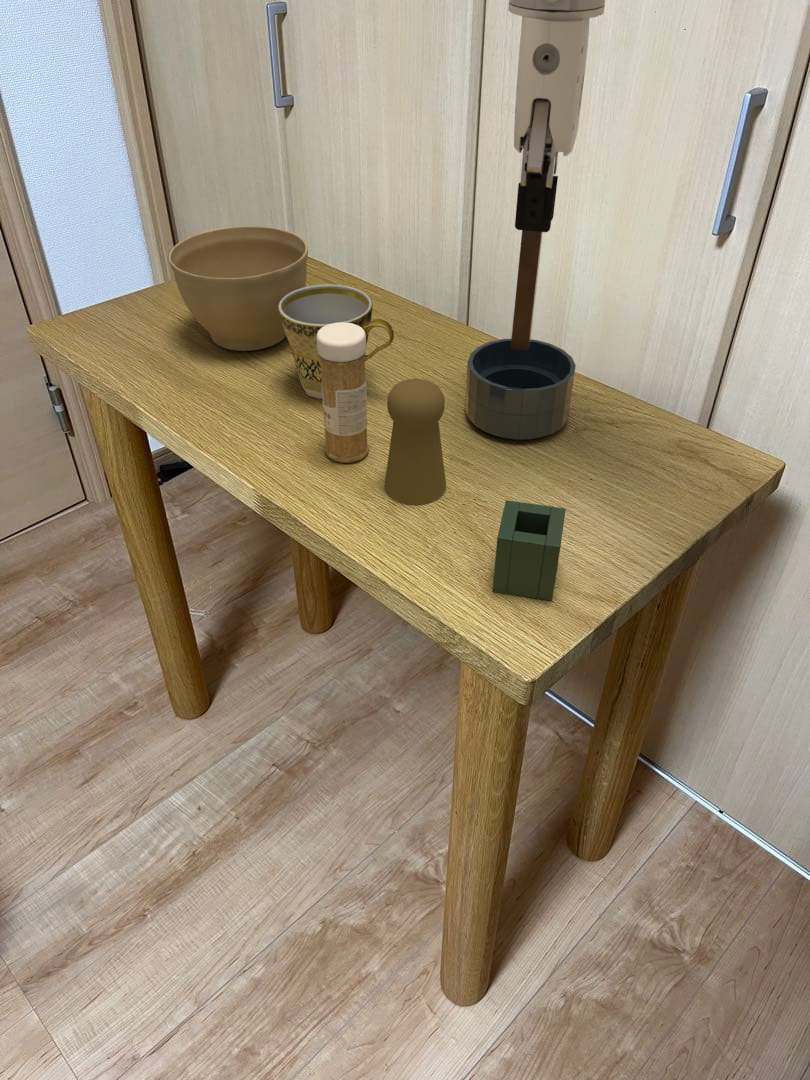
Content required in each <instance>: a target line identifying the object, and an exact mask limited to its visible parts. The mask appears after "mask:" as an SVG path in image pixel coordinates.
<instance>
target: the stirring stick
mask: <svg viewBox="0 0 810 1080" xmlns="http://www.w3.org/2000/svg"><path fill="white" fill-rule="evenodd" d="M544 161H547V163H548V159H544ZM543 234H544V232H536V231H525V230H521V236H520V237H521V238H520V250H519V258H518V268H517V278H516V289H515V298H514V308H513V309H514V310H513V319H512V330H511V338H510V339H511V349H517V350H525V351H528V349H529V345H530V340H531V339H532V332H533V331H532V330H533V321H534V314H535V304H536V296H537V287H538V280H539V279H538V277H539V268H540V260H541V251H542V244H543V236H544V235H543Z"/></svg>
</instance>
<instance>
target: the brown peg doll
mask: <svg viewBox="0 0 810 1080" xmlns="http://www.w3.org/2000/svg"><path fill="white" fill-rule="evenodd" d="M445 400H446V399H445V394H444V393H443V391H442V389H441V388H440V386H439V385H438V384H436V383H435V382H434V381H431V380H428V379H423V378H408V379H404V380H402V381H398V382H397V383H396V384H394V385H393V386H392V388H391V390H390V391H389V393H388V395H387V402H386V403H387V404H386V406H387V408H386V409H387V412H388V415H389V417H390V419H391V421H393V422H392V429H391V436H390V442H389V443H390V444H389V450H388V457H387V464H386V471H385V478H384V487H383V488H384V491H385V493H386V495H387V496H388V497H390V498H391V499H392V500H394V501H396V502H398V503H400V504H405V505H409V506H410V505H411V506H413V505H414V506H421V505H425V504H426V505H427V504H431V503H433V502H435V501H438V500H439V499H440V498H441V497H442V496H444V494H445V492H446V490H447V482H446V473H445V472H446V471H445V465H444V456H443V447H442V439H441V432H440V424H439V421H440V420H441V419H442V417H443V414H444V412H445V405H446V404H445V403H446V401H445Z"/></svg>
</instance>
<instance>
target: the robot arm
mask: <svg viewBox="0 0 810 1080" xmlns="http://www.w3.org/2000/svg"><path fill="white" fill-rule="evenodd" d="M605 6H606V0H508V9H507V10H508V12H509V13H510V14H513V15H515V16H520V17H521V27H520V39H519V49H518V63H517V72H516V73H517V74H516V89H515V107H514V109H515V110H514V124H513V125H514V126H513V127H514V128H513V148H514V149H515V150H516V152H518V153H519V154H521V153H522V160H521V172H520V181H519V182H518V185H517V196H516V209H515V218H514V219H515V220H514V228H515V229H516V230H517V231H522V230H525V231H536V232H543V233H548V232H549V231H550V230H551V227H552V221H553V219H554V216H555V215H554V214H555V205H556V197H557V189H558V181H559V180H558V179H559V176H558V175H556V174H557V169H558V161H559V153H562V155H563V157H568V156H569V155H570V154H571V153H572V152H573V150H574V147H575V143H576V140H577V136H578V133H579V132H578V131H579V126H580V125H579V123H580V115H581V107H582V98H583V90H584V82H585V74H586V67H587V57H588V48H589V37H590V22H591V21H590V19H593V18H596V17H597V18H598V17H599V16H602V15H604V13H605ZM544 159H548V163H547V161H544Z"/></svg>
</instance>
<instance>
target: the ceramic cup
mask: <svg viewBox="0 0 810 1080" xmlns="http://www.w3.org/2000/svg"><path fill="white" fill-rule="evenodd" d="M279 312H280V316H281V320H282V324H283V327H284V331H285V334H286V339H287V341H288V344H289V346H290V350H291V355H292V357H293V361H294V365H295V367H296V372H297V376H298V379H299V382H300V384H301V387H302V388H303V390H304V392H305V394H306V395H307V397H311V398H315V399H318V400H322V378H321V364H320V357H319V353H318V351H317V333H318V331H319V330H320V329H321V328H322V327H324V326H326V325H329V324H332V323H340V322H345V323H352V324H355V325H358V326H360V327H361V328H362V329H363V330H364V331H365V334H366V347H367V345H368V340H369V334H370V332H371V330H373V329H374V328H382V329H384V330H386V331H387V333H388V335H389V338H388V341H387V342H386V343H383V344H382V345H379V346H378V347H376V348H375V349H373V350H372V351H371V352H370V353H369V354H366V352H367V351H366V352H365V362H367V361H368V360H370V359H371V358H373V357H374V356H375V355H376V354H377V353H379V352H380V351H383V350H384V349H387V348H388V347H389V346H391V345H392V343H393V342H394V338H395V333H394V330H393V327H392V325H391V324H390V323H389V322H388V321H386V320H384V319H381V318H376V319H373V320H372V315H373V300H372V298H371V297H370V295H368V293H366V292H364V291H363V290H361V289H359V288H356V287H353V286H349V285H343V284H336V283H335V284H333V283H327V284H323V283H322V284H314V285H308V286H305V287H303V288H300V289H297V290H295V291H292V292H290V293H289V294H287V295H286V296H285V297H283V298H282V300H281V301H280V303H279Z"/></svg>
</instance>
